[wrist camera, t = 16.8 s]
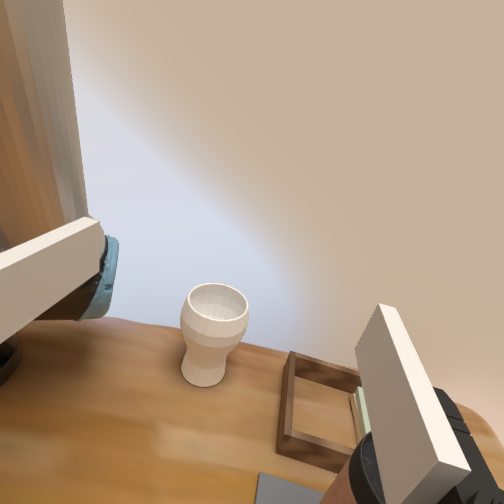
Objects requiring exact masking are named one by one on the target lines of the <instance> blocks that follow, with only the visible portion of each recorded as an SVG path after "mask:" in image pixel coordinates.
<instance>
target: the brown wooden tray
mask: <svg viewBox="0 0 504 504" xmlns="http://www.w3.org/2000/svg"><path fill="white" fill-rule="evenodd" d="M294 376H298V377H301V378H305V379H308V380H311V381H314V382H317V383H321V384H324V385H327V386H330V387H333V388H337V389H340V390H343V391H346V392H349V393H355V390H356V388H357V387H358V386H359V387H362V383H361V378H360V373H359V372H358V371H354V370H351V369H348V368H345V367H341V366H338V365H335V364H332V363H328V362H325V361H322V360H319V359H315V358H312V357H309V356H305V355H302V354H299V353H296V352H293V351H290V353H289V356H288V359H287V361H286V364H285V366H284V371H283V382H282V392H281V402H280V412H279V423H278V433H277V443H276V453H278V454H281V455H284V456H287V457H290V458H293V459H296V460H299V461H302V462H305V463H308V464H311V465H314V466H317V467H320V468H323V469H326V470H329V471H332V472H336V473H340V471H341V470H342V468H343V467H344V465H345V464H346V462H347V461H348V459H349V458H350V456H351V455H352V453H353V452H354V450H355V449H352V448H349V447H345V446H342V445H339V444H336V443H333V442H330V441H327V440H324V439H321V438H318V437H315V436H311V435H308V434H305V433H302V432H299V431H296V430H293V429H292V415H293V395H294Z"/></svg>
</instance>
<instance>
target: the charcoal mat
mask: <svg viewBox="0 0 504 504" xmlns="http://www.w3.org/2000/svg"><path fill="white" fill-rule="evenodd" d="M324 495H325V493H322V492H319V491H316V490H313V489H310V488H307V487H304V486H301V485H298V484H295V483H292V482H289V481H286V480H283V479H280V478H277V477H274V476H271V475H268V474H265V473H262V472H260V473H259V475H258V483H257V490H256V497H255V504H319V502H320V501H321V499H322V498H323V496H324Z"/></svg>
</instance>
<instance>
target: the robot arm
mask: <svg viewBox="0 0 504 504" xmlns="http://www.w3.org/2000/svg"><path fill="white" fill-rule="evenodd" d="M118 251H119V243H118V240H117V239H115V238H113V237H110V236H107V235H104V231H103V229H102V227H101V226H100V221H97V220H95V219H94V218H92V217H91V216H90V215H88V208H87V200H86V190H85V182H84V174H83V165H82V157H81V149H80V141H79V132H78V125H77V117H76V107H75V99H74V91H73V83H72V75H71V66H70V57H69V49H68V41H67V33H66V25H65V16H64V8H63V0H0V385H1V384H2V383H4V382H5V381H6V380H7V379H8V378H9V377H10V375H11V374H12V373H13V372H14V370H15V369H16V367H17V365H18V363H19V360H20V354H21V353H20V345H19V340H18V337H17V335H16V334H15V333H16V332H17V331H19V330H20V329H21V328H23V327H24V326H25V325H27V324H28V323H29V322H31V321H32V320H74V321H81V320H83V319H97V318H101V317H103V316H104V315H105V314H106V313H107V311H108V310H109V306H110V302H111V298H112V292H113V284H114V279H115V274H116V268H117V260H118ZM355 353H356V358H357V363H358V368H359V373H360V378H361V383H362V388H363V393H364V398H365V403H366V408H367V412H368V417H369V422H370V427H371V432H372V437H373V442H374V447H375V452H376V457H377V462H378V467H379V472H380V477H381V481H382V486H383V491H384V496H385V501H386V504H504V491H503V490H501V489H499V487H498V486H497V484H496V482H495V480H494V478H493V476H492V474H491V472H490V470H489V468H488V466H487V464H486V462H485V460H484V459H483V457H482V455H481V453H480V451H479V449H478V447H477V445H476V443H475V441H474V439H473V437H472V436H470V431H469V430H468V428H467V426H466V424H465V423H464V422H463V421H464V420H463V418H462V416H461V414H460V412H459V410H458V408H457V406H456V405H455V403H454V402H453V401H452V400H451V399H450V398H449V396H448V395H447V394H446V393H445V392H444V391H443V390H442V389H438V388H435V387H432V385H431V383H430V381H429V379H428V377H427V375H426V372H425V370H424V368H423V366H422V364H421V362H420V359H419V357H418V355H417V353H416V351H415V349H414V346H413V344H412V343H411V340H410V338H409V336H408V334H407V331H406V329H405V327H404V325H403V323H402V321H401V318H400V316H399V314H398V312H397V310H396V308H394V307H390V306H387V305H383V304H380V303H378V305H377V307H376V309H375V311H374V313H373V315H372V317H371V318H370V320H369V322H368V324H367V326H366V328H365V330H364V332H363V334H362V336H361V338H360V340H359V341H358V343H357V345H356V347H355Z"/></svg>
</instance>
